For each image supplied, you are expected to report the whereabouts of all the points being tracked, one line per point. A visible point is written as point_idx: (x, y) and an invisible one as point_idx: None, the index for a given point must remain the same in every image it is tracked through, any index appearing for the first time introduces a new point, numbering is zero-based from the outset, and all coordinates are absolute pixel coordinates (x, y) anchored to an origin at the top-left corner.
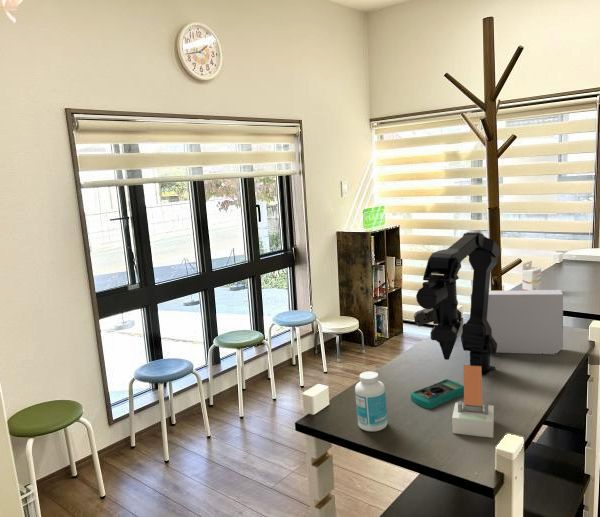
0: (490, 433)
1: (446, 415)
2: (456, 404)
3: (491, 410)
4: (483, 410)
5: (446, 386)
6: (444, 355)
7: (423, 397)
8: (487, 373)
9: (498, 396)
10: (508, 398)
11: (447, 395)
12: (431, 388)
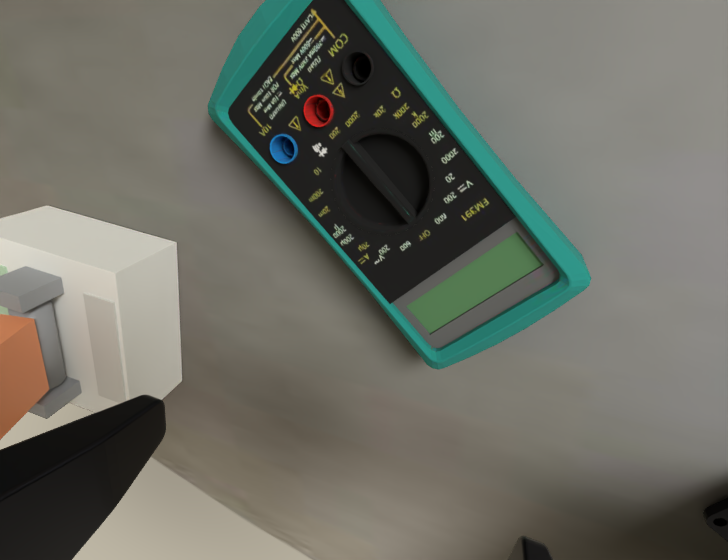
0: None
1: (183, 199)
2: (95, 274)
3: (91, 405)
4: (79, 376)
5: (443, 257)
6: (78, 431)
7: (235, 70)
8: (721, 533)
9: (404, 468)
10: (383, 494)
11: (326, 241)
12: (410, 142)
